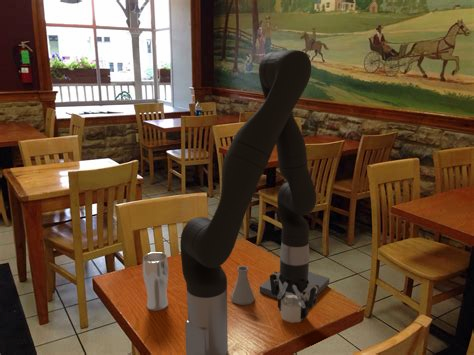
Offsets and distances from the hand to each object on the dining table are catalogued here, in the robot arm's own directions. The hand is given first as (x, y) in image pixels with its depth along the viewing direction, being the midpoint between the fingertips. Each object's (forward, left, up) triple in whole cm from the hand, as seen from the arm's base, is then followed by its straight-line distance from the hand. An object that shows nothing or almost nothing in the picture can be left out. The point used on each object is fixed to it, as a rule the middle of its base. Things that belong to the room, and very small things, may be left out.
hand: (292, 313), depth 112 cm
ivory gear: (0, 0, -1) cm, 1 cm away
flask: (-1, +16, -1) cm, 16 cm away
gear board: (+13, +7, -1) cm, 15 cm away
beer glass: (-18, +34, -1) cm, 39 cm away
